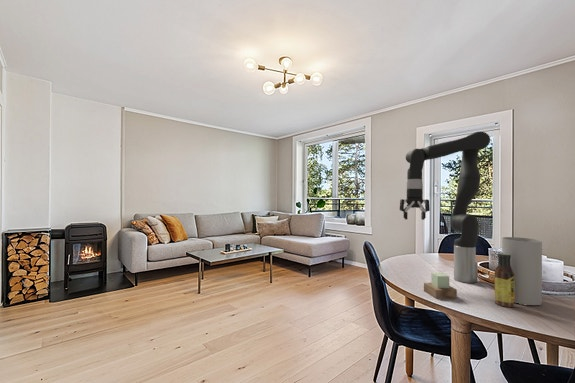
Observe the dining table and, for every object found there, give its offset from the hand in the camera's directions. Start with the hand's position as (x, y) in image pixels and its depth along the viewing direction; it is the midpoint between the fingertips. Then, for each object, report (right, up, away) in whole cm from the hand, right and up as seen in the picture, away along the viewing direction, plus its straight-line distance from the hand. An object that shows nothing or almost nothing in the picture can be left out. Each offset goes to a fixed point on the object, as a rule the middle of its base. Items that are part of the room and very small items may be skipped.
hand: (414, 219), depth 144 cm
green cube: (0, -26, -24) cm, 36 cm away
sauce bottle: (+20, -30, -34) cm, 50 cm away
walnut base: (0, -30, -24) cm, 39 cm away
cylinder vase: (+30, -30, -30) cm, 52 cm away
